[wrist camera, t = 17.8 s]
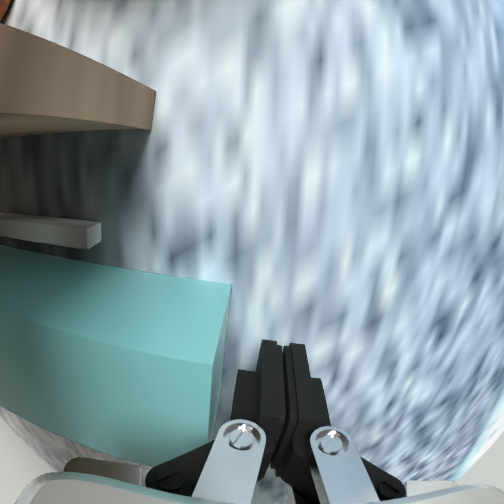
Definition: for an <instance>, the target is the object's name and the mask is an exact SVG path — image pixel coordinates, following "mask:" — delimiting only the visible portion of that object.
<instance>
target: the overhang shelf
mask: <svg viewBox="0 0 504 504" xmlns="http://www.w3.org/2000/svg"><path fill="white" fill-rule="evenodd" d="M155 94H156V91H155V90H153V89H151V88H149V87H147V86H145V85H143V84H141V83H139V82H137V81H135V80H133V79H131V78H130V77H128V76H126V75H124V74H122V73H120V72H117V71H115V70H113V69H111V68H109V67H107V66H105V65H103V64H101V63H99V62H97V61H94V60H92V59H90V58H88V57H86V56H83V55H81V54H79V53H77V52H74V51H72V50H70V49H67V48H65V47H63V46H60V45H58V44H56V43H53V42H51V41H48V40H46V39H43V38H41V37H38V36H35V35H33V34H30V33H27V32H25V31H22V30H19V29H16V28H14V27H11V26H8V25H5V24H2V23H0V139H4V138H11V137H19V136H27V135H36V134H47V133H59V132H73V131H93V130H151V127H152V118H153V110H154V102H155ZM0 236H3V237H9V238H15V239H21V240H27V241H34V242H40V243H46V244H53V245H59V246H66V247H73V248H79V249H86V250H88V249H89V248H91V247H92V246H94V245H96V244H97V243H99V242H101V241H102V240H101V222H96V221H86V220H76V219H66V218H56V217H46V216H36V215H25V214H14V213H4V212H0Z"/></svg>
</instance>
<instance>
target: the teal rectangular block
mask: <svg viewBox="0 0 504 504" xmlns="http://www.w3.org/2000/svg"><path fill="white" fill-rule="evenodd" d="M231 286H232V285H231V284H223V283H216V282H209V281H202V280H195V279H189V278H182V277H175V276H169V275H162V274H156V273H150V272H143V271H137V270H131V269H125V268H119V267H113V266H107V265H101V264H96V263H90V262H84V261H79V260H73V259H68V258H63V257H57V256H52V255H47V254H42V253H37V252H32V251H27V250H22V249H17V248H12V247H7V246H2V245H0V406H2V407H4V408H5V409H7V410H9V411H11V412H13V413H14V414H16V415H18V416H20V417H22V418H24V419H26V420H28V421H30V422H32V423H34V424H36V425H38V426H40V427H42V428H44V429H46V430H48V431H50V432H53V433H55V434H57V435H59V436H62V437H64V438H66V439H69V440H71V441H74V442H76V443H79V444H81V445H84V446H87V447H89V448H92V449H95V450H98V451H100V452H103V453H106V454H109V455H112V456H116V457H119V458H122V459H125V460H129V461H132V462H136V463H139V464H143V465H147V466H151V467H155V466H157V465H159V464H162V463H164V462H167V461H169V460H171V459H174V458H176V457H178V456H181V455H183V454H185V453H187V452H189V451H192V450H194V449H196V448H198V447H200V446H202V445H204V444H207V443H209V442H211V441H212V439H213V433H214V427H215V422H216V416H217V410H218V404H219V399H220V392H221V381H222V371H223V361H224V351H225V342H226V332H227V322H228V313H229V304H230V295H231Z"/></svg>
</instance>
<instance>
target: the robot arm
mask: <svg viewBox="0 0 504 504" xmlns="http://www.w3.org/2000/svg"><path fill="white" fill-rule="evenodd" d="M269 464H270V467H271V469H276V477H281V479H282V480H284V481H285V482H286V483H287V492H288V496H289V501H290V504H504V492H503V491H502V490H500V489H498V488H496V487H492V486H486V485H464V486H458V485H457V484H456V483H454V482H452V481H409V480H406V482H405V483H402V482H401V481H400V480H398V479H397V478H395V477H393V476H392V475H390V474H388V473H387V472H385V471H383V470H381V469H380V468H378V467H376V466H375V465H373V464H372V463H370V462H368V461H367V460H365V459H363V458H362V457H360V455H359V453H358V451H357V448H356V446H355V444H354V442H353V439H352V438H351V436H350V435H349V434H348V433H347V432H346V431H344V430H342V429H340V428H337V427H333V426H331V424H330V419H329V414H328V409H327V404H326V399H325V395H324V390H323V385H322V381H321V379H320V378H311V377H310V371H309V365H308V360H307V354H306V349H305V345H304V344H295V343H290V344H289V346H284V348H283V352H282V346H281V345H277V341H271V340H263V339H262V343H261V347H260V352H259V357H258V362H257V367H256V372H253V371H246V370H239V369H238V374H237V380H236V386H235V392H234V399H233V406H232V414H231V421H229V422H226V423H225V424H224V425H222V426H221V428H220V429H219V431H218V434H217V436H216V439H215V440H213V441H211V442H209V443H207V444H204V445H202V446H200V447H198V448H196V449H194V450H192V451H189V452H187V453H185V454H183V455H181V456H178V457H176V458H174V459H171V460H169V461H167V462H164V463H162V464H159V465H157V466H155V467H153V468H152V469H147V468H141V467H140V465H132V464H123V463H115V462H108V461H102V460H95V459H90V458H80V457H78V458H74V459H71V460H70V461H69V462H68V463H67V464H66V466H65V468H64V472H52V473H46V474H43V475H40V476H39V477H37V478H35V479H34V480H33V481H32V482H31V483H30V484H29V485H28V486H27V487H26V488H25V489H24V490H23V492H22V493H21V495H20V496H19V497H18V499H17V500H16V502H15V503H14V504H251V500H252V497H253V493H254V489H255V485H256V482H257V481H259V480H261V479H262V478H264V475H265V473H266V470H267V468H268V466H269Z"/></svg>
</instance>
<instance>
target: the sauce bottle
mask: <svg viewBox="0 0 504 504" xmlns="http://www.w3.org/2000/svg"><path fill="white" fill-rule="evenodd" d="M10 2H11V0H0V21H1V20H2V19H3V16H4V14H5V13H6V11H7V9H8V6H9V4H10Z"/></svg>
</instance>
